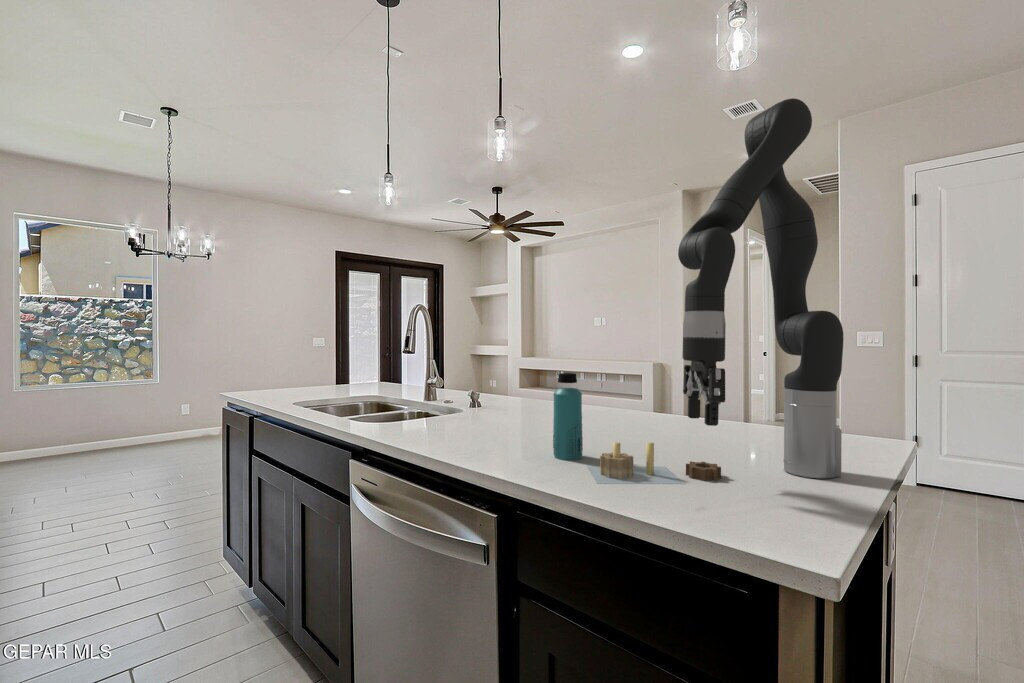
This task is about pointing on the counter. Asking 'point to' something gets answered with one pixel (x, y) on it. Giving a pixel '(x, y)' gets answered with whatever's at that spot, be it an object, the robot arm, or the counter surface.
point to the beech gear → (616, 466)
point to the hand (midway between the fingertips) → (702, 421)
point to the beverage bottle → (567, 420)
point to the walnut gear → (703, 471)
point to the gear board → (639, 471)
